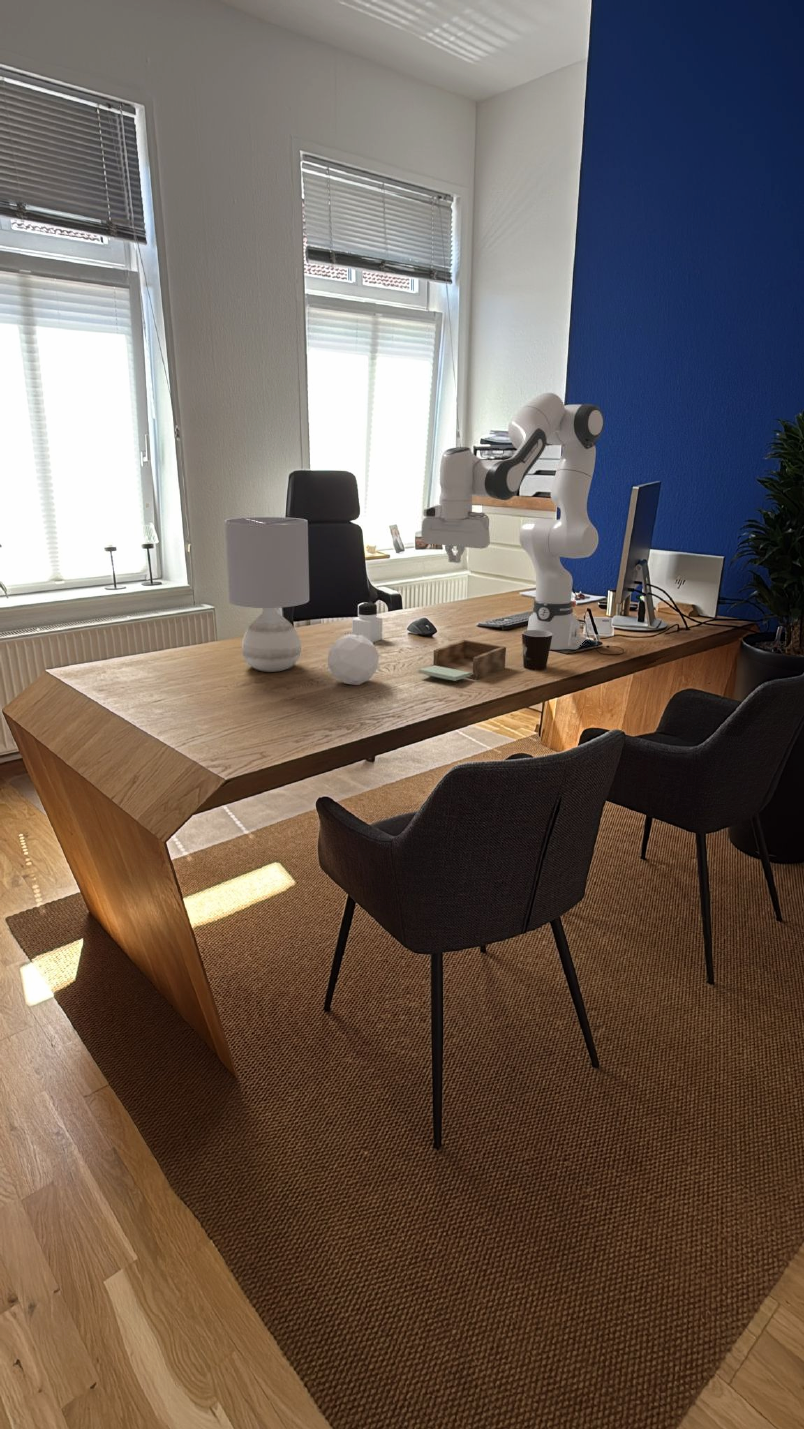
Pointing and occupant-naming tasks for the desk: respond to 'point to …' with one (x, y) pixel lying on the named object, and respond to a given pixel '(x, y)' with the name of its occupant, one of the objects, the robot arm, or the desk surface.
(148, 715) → the desk surface
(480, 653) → the crate
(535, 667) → the coffee mug
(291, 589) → the lamp
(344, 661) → the geodesic sphere
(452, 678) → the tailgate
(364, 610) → the medicine bottle
